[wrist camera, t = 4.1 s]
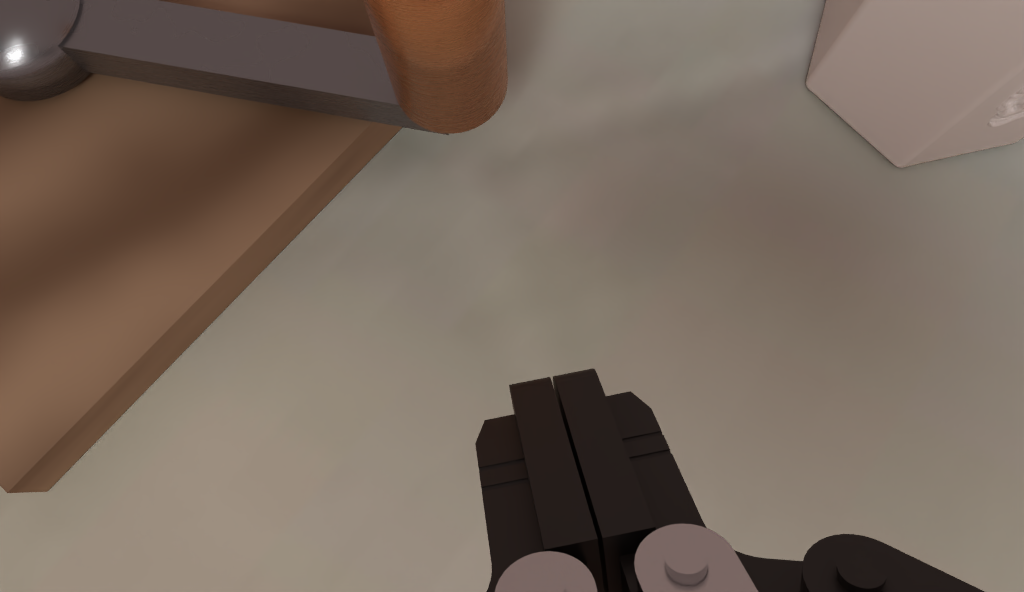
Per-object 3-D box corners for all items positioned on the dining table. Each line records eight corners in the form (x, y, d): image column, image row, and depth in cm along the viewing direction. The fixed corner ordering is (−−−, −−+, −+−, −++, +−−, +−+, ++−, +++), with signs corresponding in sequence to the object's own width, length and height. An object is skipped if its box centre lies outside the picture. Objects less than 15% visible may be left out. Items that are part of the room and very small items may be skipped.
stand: (-329, 100, 29) (-408, 66, 26) (187, -325, 33) (161, -388, 31) (47, 491, 25) (-4, 493, 23) (569, -45, 30) (573, -92, 27)
